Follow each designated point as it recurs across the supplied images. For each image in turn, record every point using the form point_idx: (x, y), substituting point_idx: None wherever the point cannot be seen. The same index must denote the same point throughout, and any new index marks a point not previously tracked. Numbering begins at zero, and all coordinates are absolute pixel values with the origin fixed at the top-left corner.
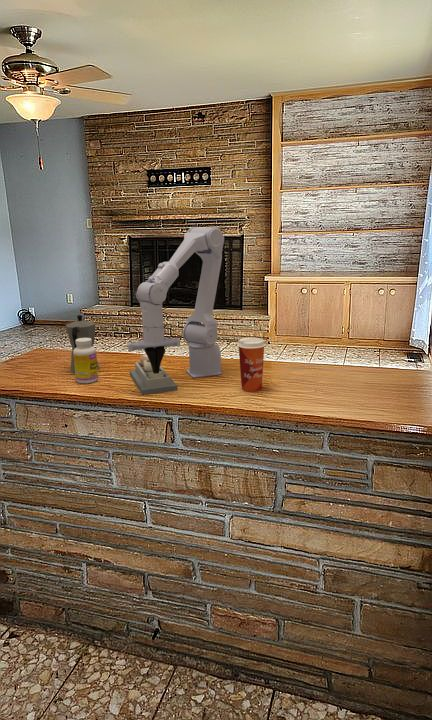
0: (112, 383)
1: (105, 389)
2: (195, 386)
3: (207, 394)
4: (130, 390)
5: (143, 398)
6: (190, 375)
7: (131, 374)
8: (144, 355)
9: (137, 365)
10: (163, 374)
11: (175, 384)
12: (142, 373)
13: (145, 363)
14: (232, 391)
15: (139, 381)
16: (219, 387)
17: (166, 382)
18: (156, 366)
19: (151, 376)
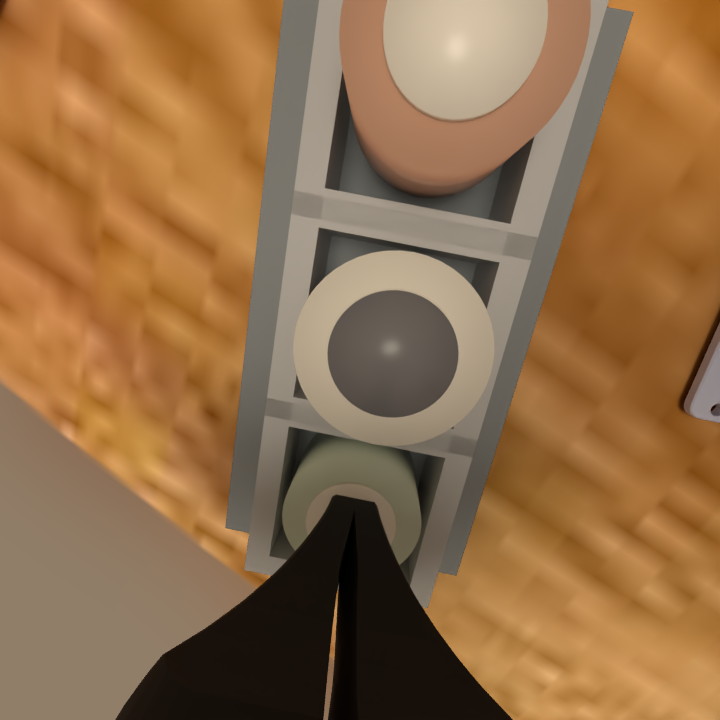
0: (113, 157)
1: (48, 270)
2: (582, 547)
3: (552, 678)
4: (198, 386)
5: (230, 547)
6: (705, 355)
7: (279, 80)
8: (421, 16)
9: (313, 86)
10: (401, 556)
11: (457, 554)
12: (266, 402)
13: (302, 379)
14: (690, 713)
15: (264, 358)
16: (684, 635)
17: None
18: (340, 607)
19: (295, 543)
